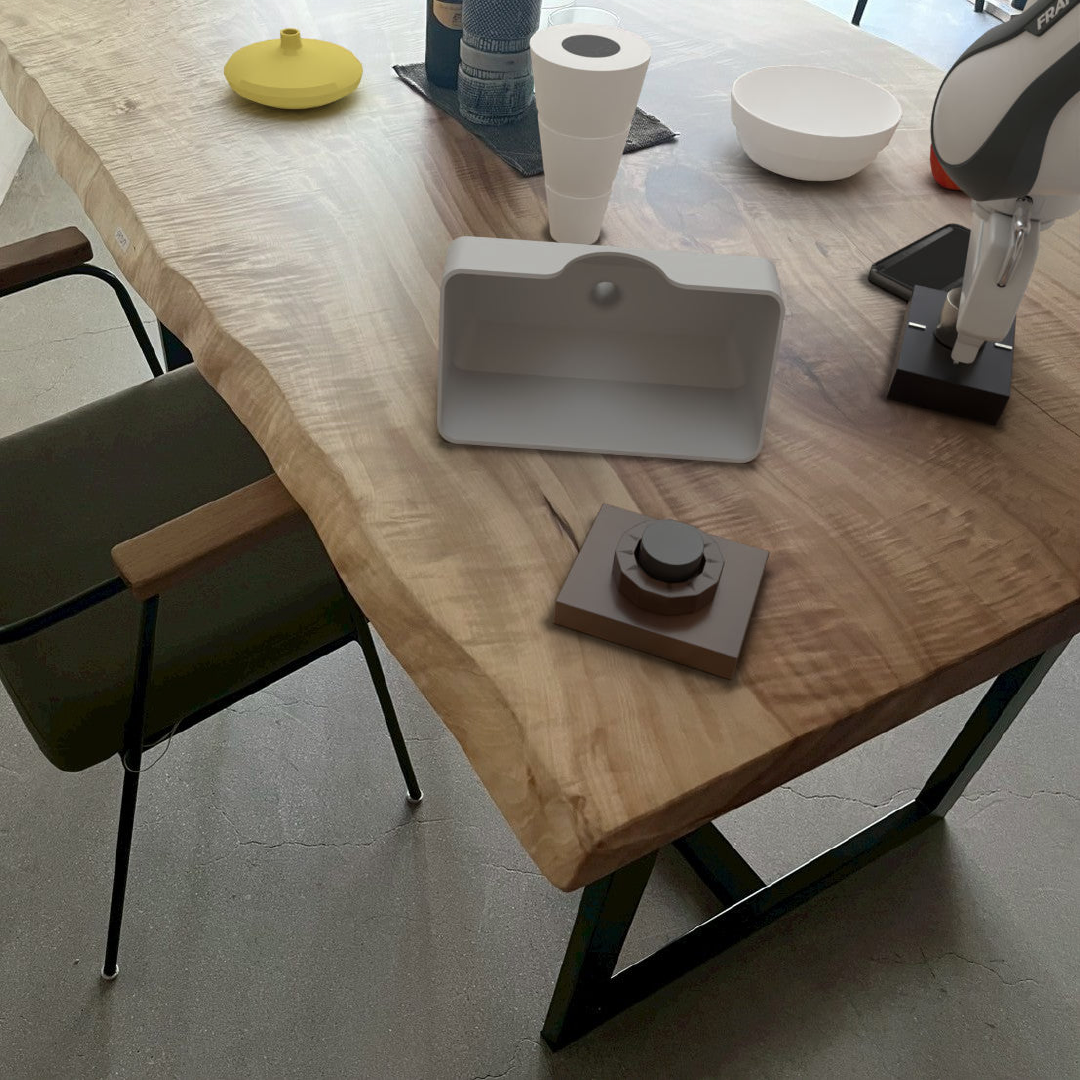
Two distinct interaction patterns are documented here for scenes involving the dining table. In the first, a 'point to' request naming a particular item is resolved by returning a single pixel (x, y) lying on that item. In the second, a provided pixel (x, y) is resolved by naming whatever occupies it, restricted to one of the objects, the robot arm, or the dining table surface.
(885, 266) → the phone
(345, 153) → the dining table surface
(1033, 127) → the robot arm
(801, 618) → the dining table surface
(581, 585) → the button block
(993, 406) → the panel
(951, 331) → the knob
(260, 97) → the vase
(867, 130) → the bowl
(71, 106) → the dining table surface
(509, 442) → the grey storage bin
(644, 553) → the button
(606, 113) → the white tapered cylinder
